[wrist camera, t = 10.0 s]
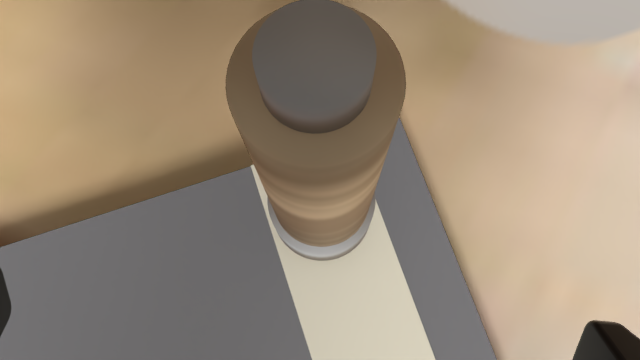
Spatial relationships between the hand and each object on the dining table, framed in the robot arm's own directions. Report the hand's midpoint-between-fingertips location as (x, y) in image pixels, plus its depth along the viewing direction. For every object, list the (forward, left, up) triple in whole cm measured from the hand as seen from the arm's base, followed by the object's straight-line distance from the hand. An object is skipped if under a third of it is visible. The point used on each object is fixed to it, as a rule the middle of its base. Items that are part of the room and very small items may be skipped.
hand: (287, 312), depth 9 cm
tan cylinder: (+4, -2, -11) cm, 12 cm away
